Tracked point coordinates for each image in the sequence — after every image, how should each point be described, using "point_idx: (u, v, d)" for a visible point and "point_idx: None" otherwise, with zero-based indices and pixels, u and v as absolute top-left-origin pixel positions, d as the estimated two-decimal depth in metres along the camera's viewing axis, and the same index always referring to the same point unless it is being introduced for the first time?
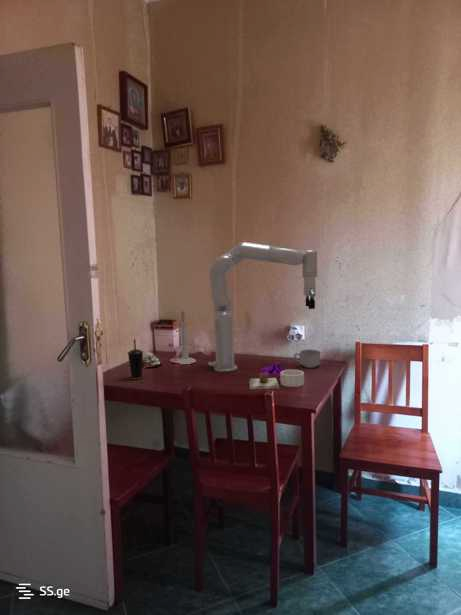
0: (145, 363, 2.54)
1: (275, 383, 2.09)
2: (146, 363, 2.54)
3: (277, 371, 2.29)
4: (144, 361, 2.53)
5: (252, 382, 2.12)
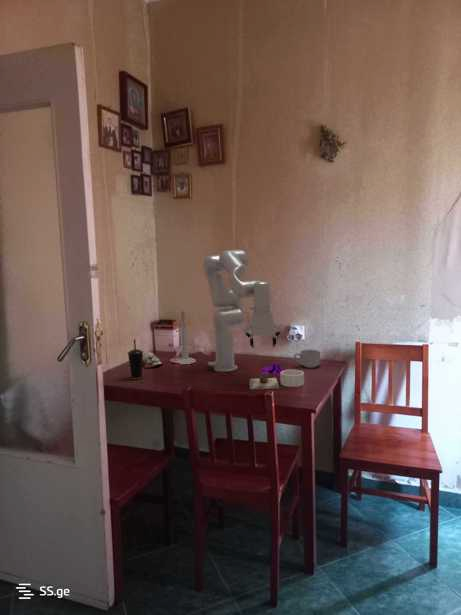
0: (146, 363, 2.53)
1: (275, 383, 2.09)
2: (147, 363, 2.53)
3: (277, 371, 2.29)
4: (145, 361, 2.53)
5: (252, 382, 2.12)
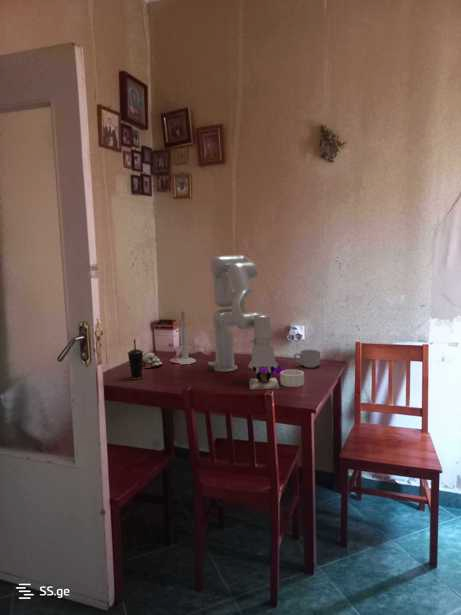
0: (146, 363, 2.53)
1: (275, 383, 2.09)
2: (147, 363, 2.53)
3: (277, 371, 2.29)
4: (145, 361, 2.53)
5: (252, 382, 2.12)
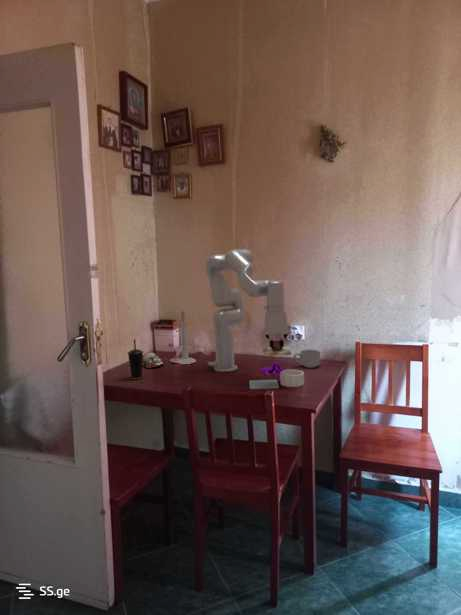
0: (147, 364, 2.52)
1: (288, 350, 2.06)
2: (148, 364, 2.52)
3: (277, 371, 2.29)
4: (146, 362, 2.52)
5: (265, 350, 2.09)
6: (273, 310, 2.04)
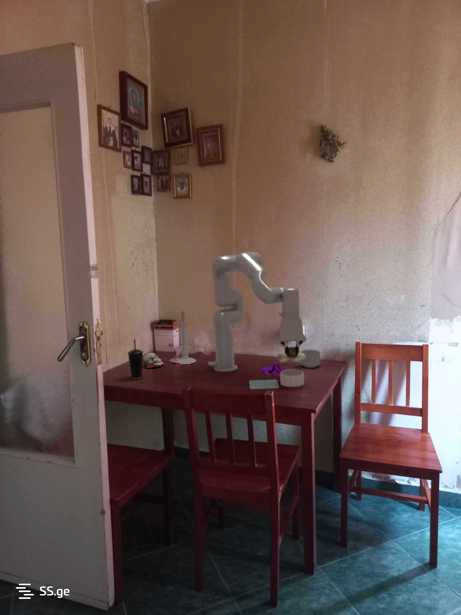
0: (148, 364, 2.52)
1: (304, 357, 2.07)
2: (149, 364, 2.52)
3: (277, 371, 2.29)
4: (147, 362, 2.52)
5: (280, 357, 2.10)
6: (289, 317, 2.04)
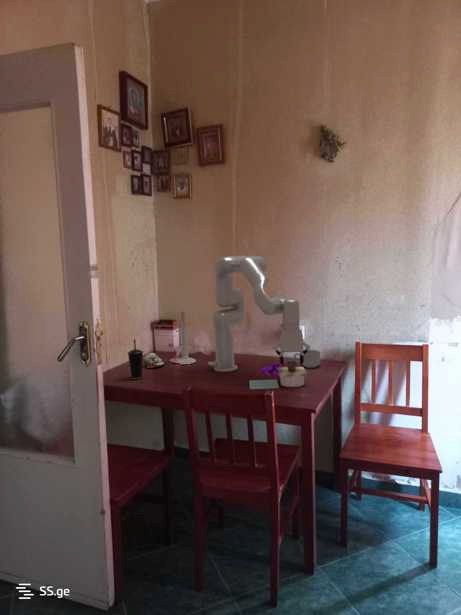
0: (148, 364, 2.52)
1: (304, 371, 2.08)
2: (149, 364, 2.52)
3: (277, 371, 2.29)
4: (147, 362, 2.52)
5: (280, 370, 2.11)
6: (289, 328, 2.05)
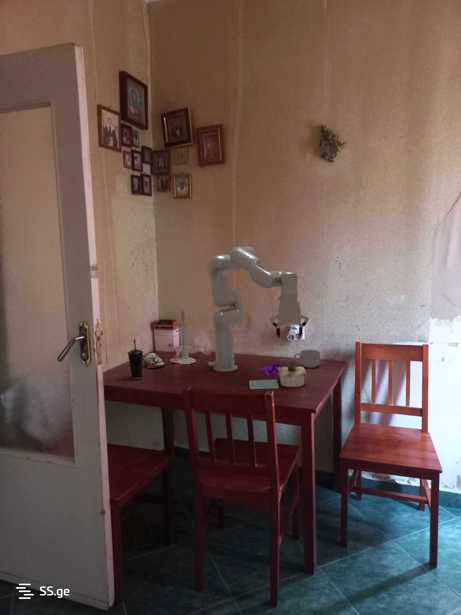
0: (149, 364, 2.51)
1: (304, 371, 2.08)
2: (150, 364, 2.51)
3: (277, 371, 2.29)
4: (148, 362, 2.51)
5: (280, 370, 2.11)
6: (287, 301, 2.04)
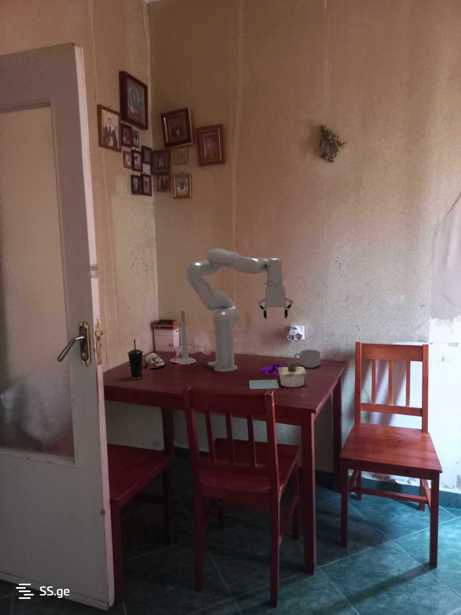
0: (149, 364, 2.51)
1: (304, 371, 2.08)
2: (150, 364, 2.51)
3: (277, 371, 2.29)
4: (148, 362, 2.51)
5: (280, 370, 2.11)
6: (273, 285, 2.20)
